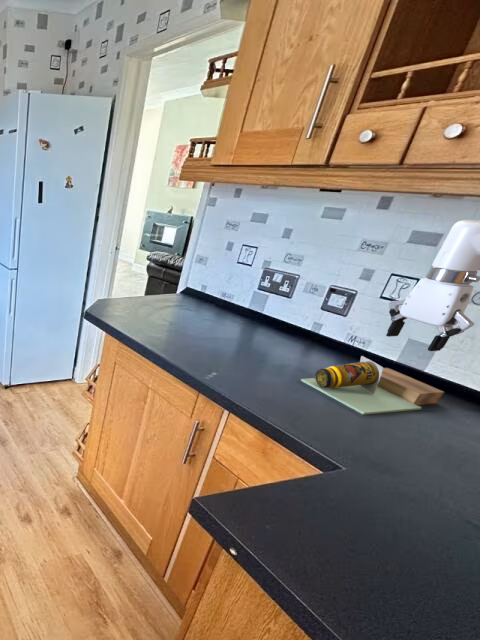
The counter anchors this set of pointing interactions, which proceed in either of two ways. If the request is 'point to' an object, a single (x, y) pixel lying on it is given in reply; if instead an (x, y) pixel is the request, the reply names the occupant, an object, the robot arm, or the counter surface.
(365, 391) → the mat
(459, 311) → the robot arm
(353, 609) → the counter surface
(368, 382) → the condiment
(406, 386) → the step
